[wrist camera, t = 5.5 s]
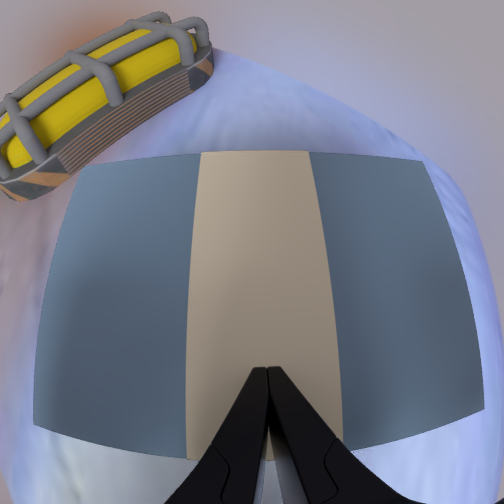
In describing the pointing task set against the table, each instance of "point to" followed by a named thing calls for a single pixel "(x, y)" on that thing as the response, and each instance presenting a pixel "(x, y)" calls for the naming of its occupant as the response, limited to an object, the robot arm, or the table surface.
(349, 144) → the table surface
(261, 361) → the lid
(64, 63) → the cage light
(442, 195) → the table surface
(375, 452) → the table surface
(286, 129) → the table surface
